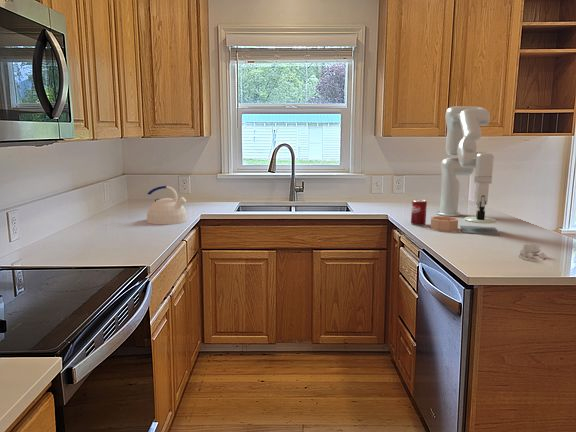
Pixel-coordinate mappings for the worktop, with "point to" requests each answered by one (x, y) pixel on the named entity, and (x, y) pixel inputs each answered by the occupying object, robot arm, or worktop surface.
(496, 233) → the mat
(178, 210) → the kettle
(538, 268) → the worktop surface
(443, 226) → the bowl
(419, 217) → the soda can
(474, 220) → the lid
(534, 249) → the fabric
